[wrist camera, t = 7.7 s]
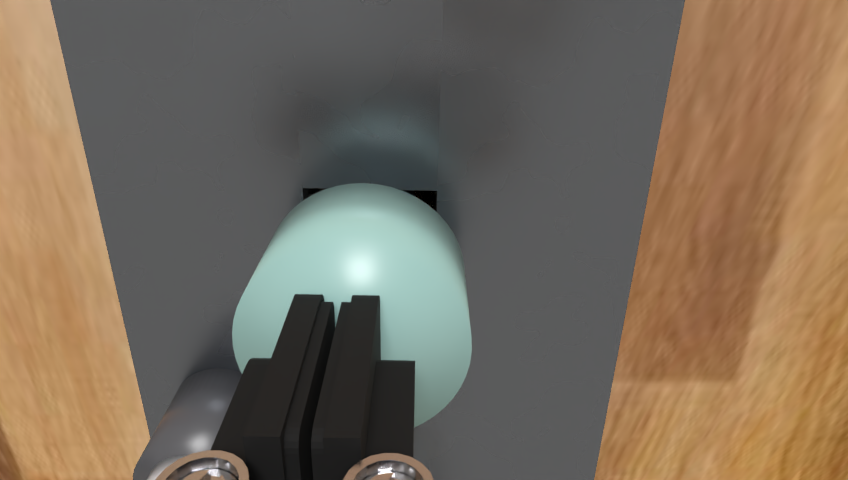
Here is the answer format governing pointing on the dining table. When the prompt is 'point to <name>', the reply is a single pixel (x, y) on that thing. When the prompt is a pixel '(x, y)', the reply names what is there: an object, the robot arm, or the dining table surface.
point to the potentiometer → (189, 420)
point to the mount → (386, 181)
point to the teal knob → (369, 282)
